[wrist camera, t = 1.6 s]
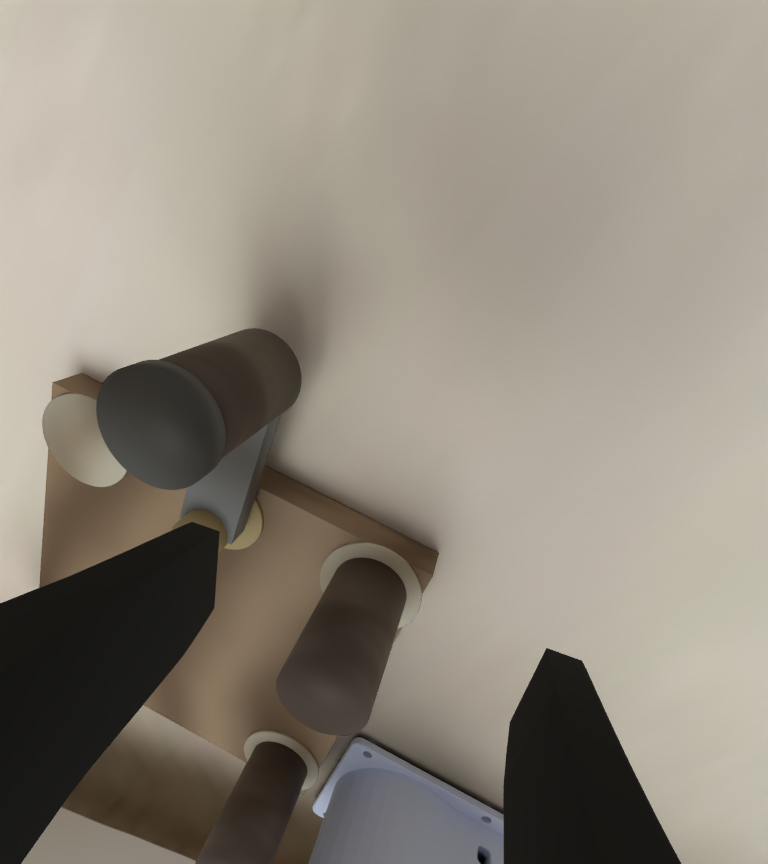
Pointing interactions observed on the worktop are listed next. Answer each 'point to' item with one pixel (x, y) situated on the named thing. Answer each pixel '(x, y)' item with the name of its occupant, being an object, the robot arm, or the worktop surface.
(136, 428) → the crank handle
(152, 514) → the peg board with pegs
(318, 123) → the worktop surface
